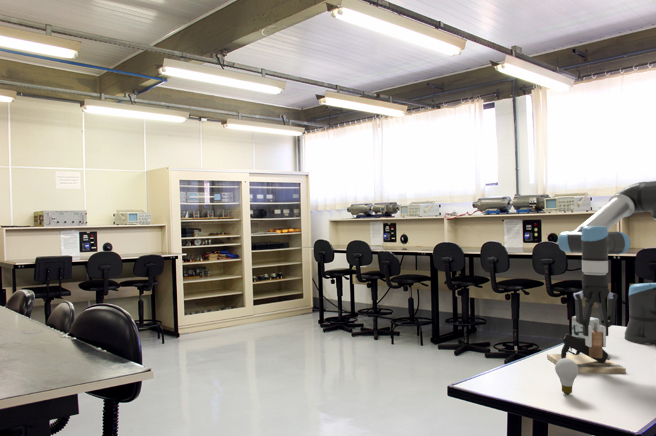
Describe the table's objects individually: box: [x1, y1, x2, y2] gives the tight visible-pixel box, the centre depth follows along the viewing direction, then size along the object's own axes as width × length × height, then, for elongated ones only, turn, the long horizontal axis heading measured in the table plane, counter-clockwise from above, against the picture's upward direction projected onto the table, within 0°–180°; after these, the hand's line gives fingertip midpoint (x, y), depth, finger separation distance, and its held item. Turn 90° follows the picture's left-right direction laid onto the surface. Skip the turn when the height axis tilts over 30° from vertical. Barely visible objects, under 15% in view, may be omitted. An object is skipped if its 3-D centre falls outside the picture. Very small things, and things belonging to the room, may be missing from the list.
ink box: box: [571, 315, 600, 338], centre depth 190 cm, size 9×5×12 cm, turn 25°
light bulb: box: [554, 358, 579, 396], centre depth 139 cm, size 6×6×10 cm
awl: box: [589, 322, 603, 358], centre depth 161 cm, size 4×4×11 cm
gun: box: [560, 333, 611, 363], centre depth 166 cm, size 3×16×10 cm, turn 87°
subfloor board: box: [546, 353, 627, 374], centre depth 167 cm, size 18×17×2 cm
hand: (595, 345), depth 161 cm, fingers closed on awl, 4 cm apart
